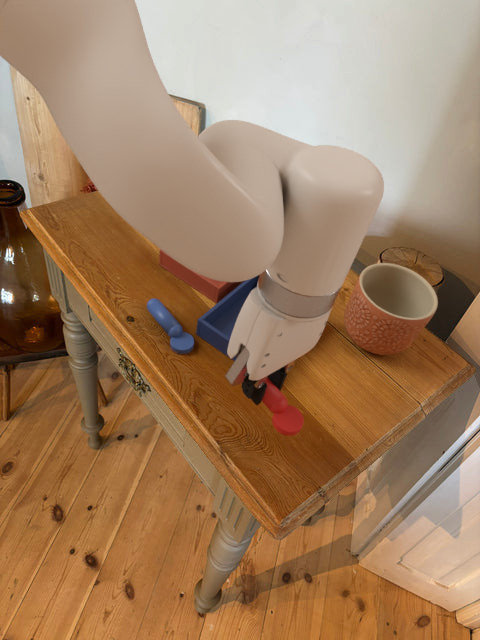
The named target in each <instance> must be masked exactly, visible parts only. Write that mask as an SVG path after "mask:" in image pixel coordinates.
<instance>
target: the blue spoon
mask: <svg viewBox="0 0 480 640" xmlns="http://www.w3.org/2000/svg"><path fill="white" fill-rule="evenodd" d="M146 310H147V311H148V312H149V313H150V315H151V316H152V317H153V318H154V320H155V321H156V322H157V323H158V325H159V326H160V327H161V328H162V329H163V330H164V332H165V333H166V334H167V336H168V337H169V338H170V341H169V346H170V349H171V350H172V351H173V352H174V353H176V354H179V355H185V354H186V355H187V354H189V353H191V352H192V351H193V350H194V347H195V339H194V337H193V335H191V334H190V333H188V332H186V331H184V329H183V326H182V325H181V324H180V322H179V321H178V320H177V319H176V318H175V317H174V316H173V314H172V313H171V311H169V309H167V307H166V306H165V305H164V303H162V301H161V300H160V299H158V298H156V297H155V298H154V297H153V298H150V299H149V300H148V301H147V303H146Z"/></svg>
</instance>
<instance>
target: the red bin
mask: <svg viewBox="0 0 480 640" xmlns="http://www.w3.org/2000/svg"><path fill="white" fill-rule="evenodd" d="M158 251H159V254H158V266H160V267H161V268H162V269H164V270H166V271H167V272H168V273H170V274H171V275H173V276H174V277H176V278H177V279H179V280H180V281H182V282H184V283H185V284H187V285H188V286H190V287H191V288H193V289H194V290H196V291H197V292H199V293H200V294H202V295H203V296H205V297H206V298H207V299H209V300H211V302H214V303H215V304H217V303H218V302H220V301H221V300H222V299H223V298H225V297H226V296H227V295H228V294H229V293H231V292H232V291H233V290H234V289H236V288H237V287H238V286H239V285H240V284H242V283H243V282H244V281H241V282H223V281H217V280H213V279H210V278H207V277H205V276H202V275H200V274H197V273H195V272H194V271H192V270H190V269H188V268H186V267H185V266H183V265H182V264H180V263H179V262H177V261H176V260H174V259H173V258H172V257H170V256H169V255H168V254H166V253H165V252H164V251H162V250H161V249H160V248H159V250H158Z"/></svg>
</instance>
